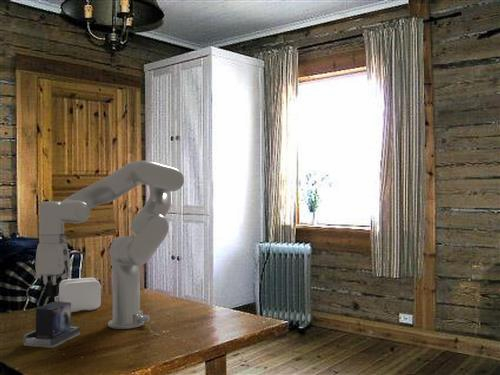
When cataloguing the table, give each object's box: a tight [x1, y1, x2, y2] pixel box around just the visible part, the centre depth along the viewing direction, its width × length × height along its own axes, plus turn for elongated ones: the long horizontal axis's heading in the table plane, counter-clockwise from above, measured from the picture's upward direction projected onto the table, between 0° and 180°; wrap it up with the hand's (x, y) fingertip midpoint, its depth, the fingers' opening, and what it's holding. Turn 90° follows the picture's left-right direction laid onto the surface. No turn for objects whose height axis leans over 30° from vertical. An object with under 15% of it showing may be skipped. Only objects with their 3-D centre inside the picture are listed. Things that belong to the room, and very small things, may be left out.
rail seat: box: [23, 326, 81, 349], centre depth 164 cm, size 10×14×3 cm
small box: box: [35, 300, 72, 339], centre depth 164 cm, size 11×6×10 cm, turn 167°
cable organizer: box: [58, 277, 102, 313], centre depth 206 cm, size 15×11×12 cm
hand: (52, 296), depth 164 cm, fingers closed
